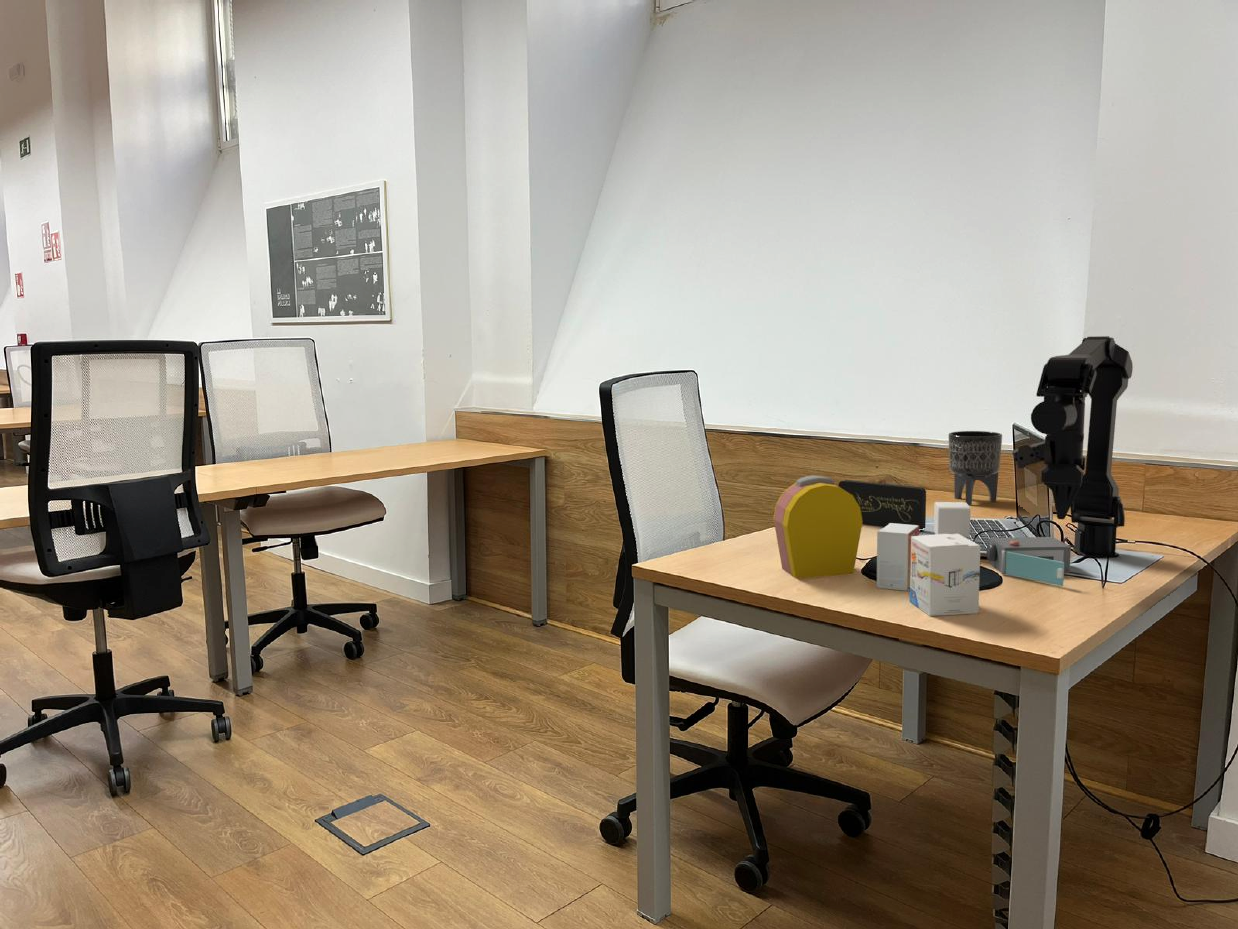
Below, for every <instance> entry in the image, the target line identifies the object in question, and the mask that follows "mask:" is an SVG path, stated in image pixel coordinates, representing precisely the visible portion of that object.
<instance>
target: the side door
mask: <svg viewBox="0 0 1238 929" xmlns="http://www.w3.org/2000/svg"><path fill="white" fill-rule="evenodd" d="M1000 572H1001V571H1000ZM1001 575H1003V576H1004V575H1007V576H1012V577H1017V578H1021V579H1022V578H1023V579H1027V580H1030V581H1031V580H1032V581H1035V582H1041V583H1046V584H1050V585H1056V586H1060V587H1063V586H1064V579H1065V577H1064V575H1065V573H1064V562H1060V561H1055V560H1049V559H1044V558H1039V557H1033V556H1028V555H1023V554H1017V553H1012V552H1007V551H1005V550H1003V551H1002V572H1001Z"/></svg>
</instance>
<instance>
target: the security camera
mask: <svg viewBox="0 0 1238 929" xmlns="http://www.w3.org/2000/svg"><path fill="white" fill-rule="evenodd" d="M933 506H934V508H933V513H934V514H933V515H934V516H933V518H934V519H933V532H934V535H935V534H960V535H962V536H963V537H965V538H966V537H967V539H970V535H971V512H972V511H971V510H972V509H971V507H970V505H968V504H967V503H966V501H965V502H962V501H958V502H957V501H953V502H952V501H950V502H949V501H945V502H944V501H935V502H934V505H933Z"/></svg>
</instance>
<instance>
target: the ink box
mask: <svg viewBox="0 0 1238 929" xmlns="http://www.w3.org/2000/svg"><path fill="white" fill-rule="evenodd" d="M980 569H981V545H980V544H978V543H976V542H974V541H972V540H970V538H966V537H963V536H962V535H960V534H935V533H934V534H924V535H923V534H922V535H919V536H912V537H911V575H910V588H909V602H910V603H911V604H912V605H914V606H915V607H916V608H917V609H919V610H920V611H922V612H924V613H925V614H926V615H928V616H929V617H936V616H938V617H939V616H956V615H958V616H959V615H971V614H972V615H974V614H975V615H976V614H979V604H980V601H979V600H980V574H981V573H980Z"/></svg>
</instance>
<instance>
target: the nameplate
mask: <svg viewBox="0 0 1238 929" xmlns="http://www.w3.org/2000/svg"><path fill="white" fill-rule="evenodd" d="M837 486H838V487H840V488H842V489H843V490H845V491H846V492H848V493H850V494H851V495H852V496H853V497H854V499H855V500H856V502H857V503H858V505H859V507H860V510H861V516H862V521H863V522H862V526H864V525H865V526H873V527H880V528H884V527H886V526H887V525H888V524H889V523H896V524H907V525H918V526H919V529H923V528H925V529H926V522H927V521H926V519H927V518H926V517H927V514H926V513H927V512H926V511H927V506H926V505H927V490H926V489H925V488H924V487H921V486H913V485H911V486H910V485H902V484H901V485H900V484H899V485H898V484H890V483H882V482H881V483H880V482H879V483H878V482H871V481H861V480H850V479H844V480H841V481H840V482H838V485H837Z"/></svg>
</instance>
